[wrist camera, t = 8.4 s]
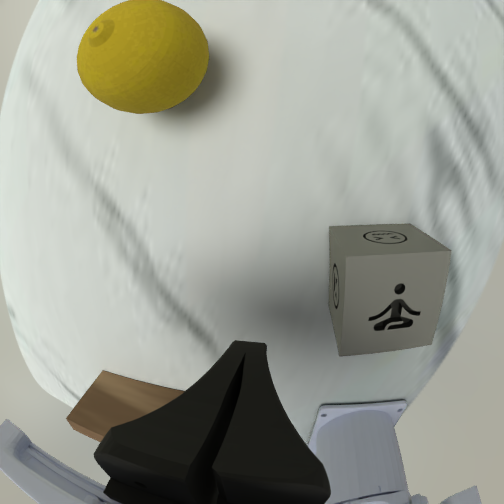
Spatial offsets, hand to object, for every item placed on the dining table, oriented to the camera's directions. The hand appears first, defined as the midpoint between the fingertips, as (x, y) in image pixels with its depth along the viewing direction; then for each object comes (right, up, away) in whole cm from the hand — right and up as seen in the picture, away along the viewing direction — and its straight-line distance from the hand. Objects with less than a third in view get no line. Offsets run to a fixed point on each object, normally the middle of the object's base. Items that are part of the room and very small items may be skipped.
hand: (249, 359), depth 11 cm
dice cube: (+7, +4, +4) cm, 9 cm away
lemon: (-4, +15, +2) cm, 15 cm away
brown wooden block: (-7, -8, +10) cm, 15 cm away
